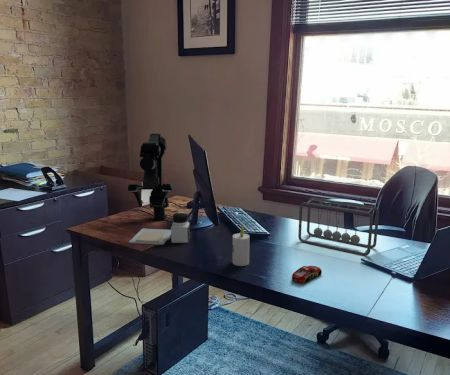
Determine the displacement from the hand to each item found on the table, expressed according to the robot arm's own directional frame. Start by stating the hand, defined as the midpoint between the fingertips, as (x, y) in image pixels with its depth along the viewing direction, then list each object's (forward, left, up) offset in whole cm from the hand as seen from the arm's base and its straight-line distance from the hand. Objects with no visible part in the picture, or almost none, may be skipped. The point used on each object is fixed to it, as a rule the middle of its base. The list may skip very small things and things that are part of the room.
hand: (150, 207), depth 174 cm
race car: (+31, +65, -14) cm, 73 cm away
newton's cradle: (-2, +79, -14) cm, 81 cm away
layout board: (0, 0, -14) cm, 14 cm away
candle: (+22, +41, -14) cm, 49 cm away
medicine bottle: (+2, +13, -14) cm, 19 cm away
